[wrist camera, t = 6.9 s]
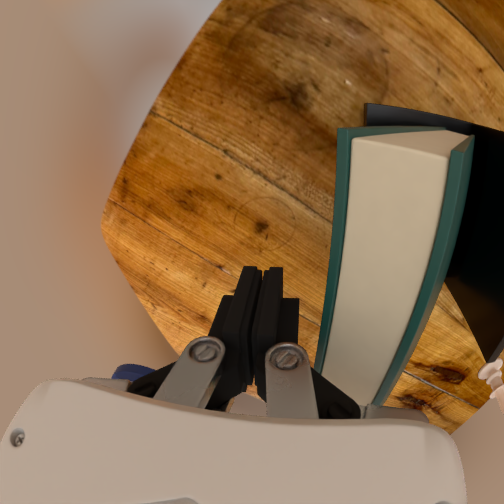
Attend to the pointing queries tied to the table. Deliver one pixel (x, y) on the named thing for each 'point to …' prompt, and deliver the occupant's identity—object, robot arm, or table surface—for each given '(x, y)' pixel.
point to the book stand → (471, 225)
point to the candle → (494, 380)
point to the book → (388, 250)
